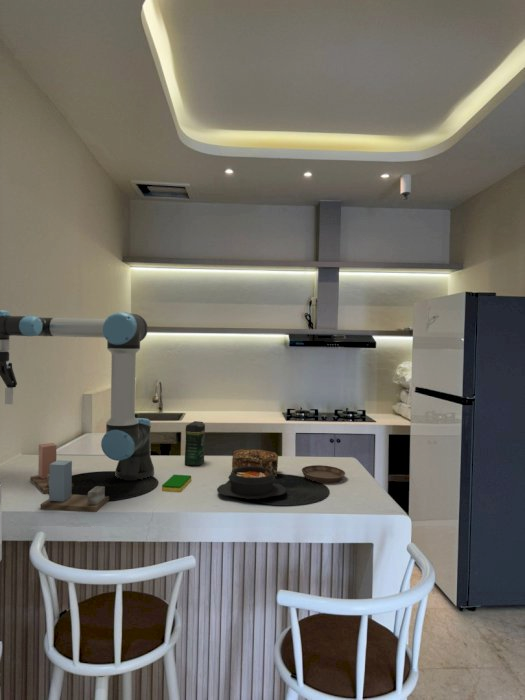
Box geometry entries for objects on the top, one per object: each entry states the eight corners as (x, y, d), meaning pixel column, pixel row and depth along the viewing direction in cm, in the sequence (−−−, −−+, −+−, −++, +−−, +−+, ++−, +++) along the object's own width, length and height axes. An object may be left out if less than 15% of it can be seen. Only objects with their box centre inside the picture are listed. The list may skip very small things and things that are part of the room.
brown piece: (30, 480, 175) (30, 466, 175) (57, 475, 181) (57, 462, 181) (44, 493, 161) (44, 478, 161) (73, 488, 167) (73, 473, 167)
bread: (231, 477, 185) (231, 452, 185) (234, 469, 196) (234, 446, 196) (277, 479, 184) (277, 454, 184) (277, 471, 195) (278, 448, 195)
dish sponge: (161, 491, 167) (161, 485, 167) (173, 480, 181) (174, 474, 180) (180, 493, 166) (180, 486, 166) (191, 481, 180) (191, 475, 180)
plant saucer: (341, 472, 196) (341, 465, 196) (348, 485, 178) (348, 478, 178) (299, 471, 196) (300, 464, 196) (303, 484, 178) (303, 476, 178)
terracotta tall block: (38, 475, 175) (38, 444, 175) (52, 473, 178) (52, 442, 178) (42, 478, 171) (42, 447, 171) (56, 476, 175) (56, 445, 174)
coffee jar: (199, 467, 198) (200, 424, 197) (182, 465, 199) (183, 423, 198) (206, 461, 207) (207, 420, 207) (189, 460, 209) (190, 419, 208)
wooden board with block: (40, 508, 147) (40, 491, 147) (56, 497, 157) (56, 482, 157) (96, 511, 146) (96, 494, 146) (109, 500, 156) (109, 484, 155)
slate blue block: (49, 500, 149) (49, 464, 149) (57, 495, 154) (57, 460, 154) (63, 501, 149) (64, 465, 149) (71, 496, 154) (71, 460, 154)
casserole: (282, 486, 175) (283, 464, 175) (289, 503, 157) (290, 479, 157) (217, 486, 173) (217, 464, 173) (216, 504, 155) (217, 479, 154)
